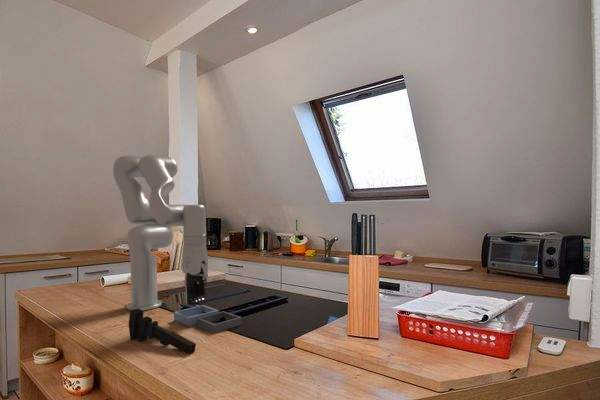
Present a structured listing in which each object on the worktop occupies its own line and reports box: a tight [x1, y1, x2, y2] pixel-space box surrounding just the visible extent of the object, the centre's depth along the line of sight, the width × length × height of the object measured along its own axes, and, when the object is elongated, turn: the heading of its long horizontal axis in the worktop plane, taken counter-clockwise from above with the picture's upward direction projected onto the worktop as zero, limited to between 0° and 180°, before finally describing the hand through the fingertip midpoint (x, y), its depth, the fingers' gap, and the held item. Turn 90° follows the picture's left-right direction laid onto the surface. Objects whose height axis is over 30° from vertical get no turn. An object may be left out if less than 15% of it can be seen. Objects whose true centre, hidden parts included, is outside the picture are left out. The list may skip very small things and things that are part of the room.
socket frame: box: [196, 311, 243, 334], centre depth 120 cm, size 10×10×2 cm
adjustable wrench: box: [128, 308, 197, 355], centre depth 104 cm, size 8×3×25 cm
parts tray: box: [173, 304, 220, 328], centre depth 126 cm, size 10×11×3 cm
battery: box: [184, 272, 208, 306], centre depth 126 cm, size 7×4×11 cm, turn 140°
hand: (196, 293), depth 126 cm, fingers closed on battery, 4 cm apart
